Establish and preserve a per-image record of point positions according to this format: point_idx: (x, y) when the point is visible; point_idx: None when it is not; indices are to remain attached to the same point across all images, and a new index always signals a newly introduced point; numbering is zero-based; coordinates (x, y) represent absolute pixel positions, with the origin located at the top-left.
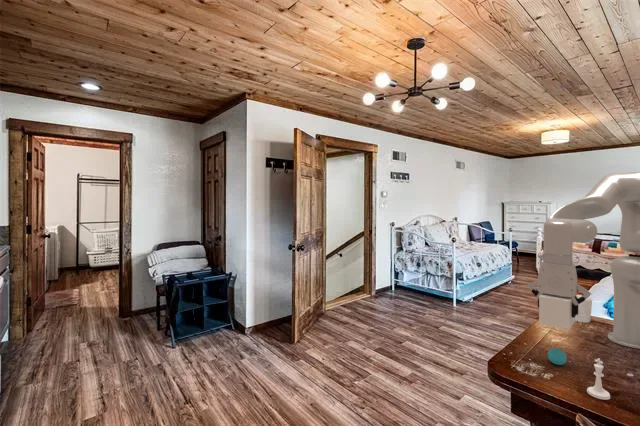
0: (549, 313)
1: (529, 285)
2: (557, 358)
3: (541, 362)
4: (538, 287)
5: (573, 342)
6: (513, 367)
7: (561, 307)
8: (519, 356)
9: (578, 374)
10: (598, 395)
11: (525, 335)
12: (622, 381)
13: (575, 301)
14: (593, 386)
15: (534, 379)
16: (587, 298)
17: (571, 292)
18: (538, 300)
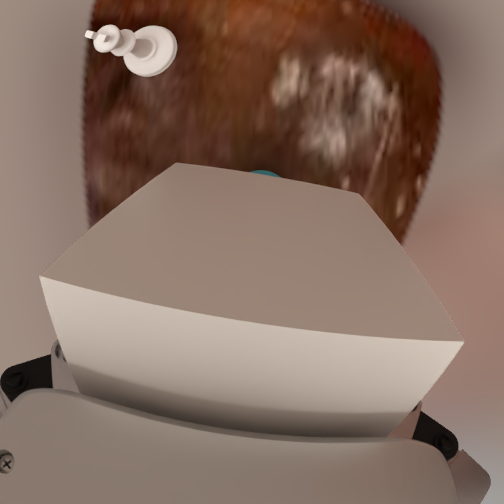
0: (306, 216)
1: (479, 482)
2: (258, 172)
3: (309, 176)
4: (453, 488)
5: None
6: (390, 88)
7: (175, 235)
8: (375, 188)
9: (199, 149)
10: (148, 27)
11: None
12: (103, 180)
13: (62, 364)
14: (154, 50)
15: (323, 31)
16: None
17: (19, 438)
18: None
